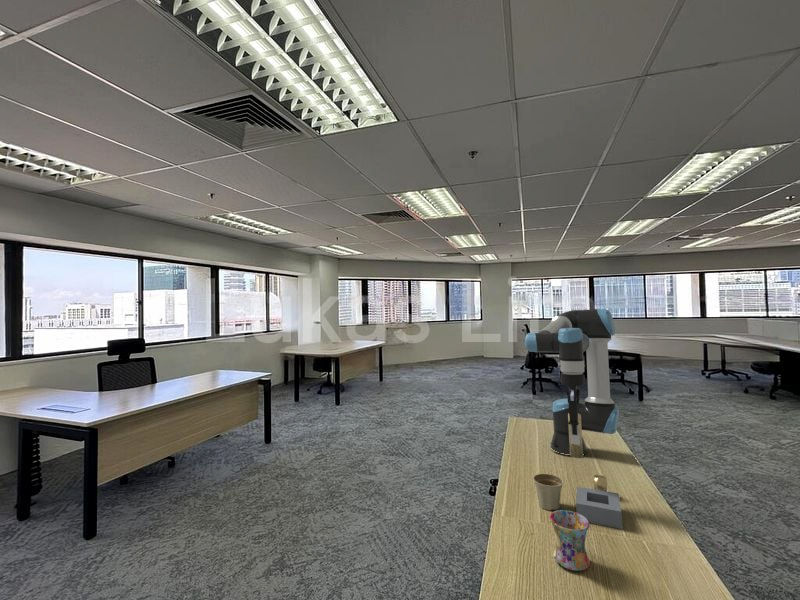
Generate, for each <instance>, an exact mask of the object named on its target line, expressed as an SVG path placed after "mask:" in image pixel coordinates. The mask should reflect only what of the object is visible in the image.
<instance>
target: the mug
mask: <svg viewBox="0 0 800 600" xmlns="http://www.w3.org/2000/svg"><path fill="white" fill-rule="evenodd" d="M549 520H550V522H551V525H552V526H553V527H552V528H553V530H554V534H555V541H556V543H555V549H554V551H553V554H552V555H553V559H554V560H555V561H556V563H557V564H558V565H560V566H561V567H563V568H565V569H567V570H570V571H575V572H580V571H585V570H587V569H588V568H589V567H590V566H591V565H590V564H591V561H590V558H589V557H588V553H587V551H586V536H587V533H588V530H589V528H590V522H589V521H588V520H587V519H586V518H585V517H584V516H582V515H580V514H578V513H576V512H575V511H572V510H566V509H565V510H564V509H560V510H559V509H558V510H554V511H552V512H551V513H550V515H549Z"/></svg>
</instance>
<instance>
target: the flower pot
mask: <svg viewBox="0 0 800 600" xmlns="http://www.w3.org/2000/svg"><path fill="white" fill-rule="evenodd" d="M532 480H533V482H534V485H535V489H536V493H537V494H536V495H537V499H538V505H539V506H540V507H541V508H542V509H544V510H547V511H553V510H554V511H558V510H559V509H560V503H561V491H562V487H563V485H564V480H563V478H561V477H559V476H557V475H554V474H551V473H537V474H535V475H533V476H532Z"/></svg>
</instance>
